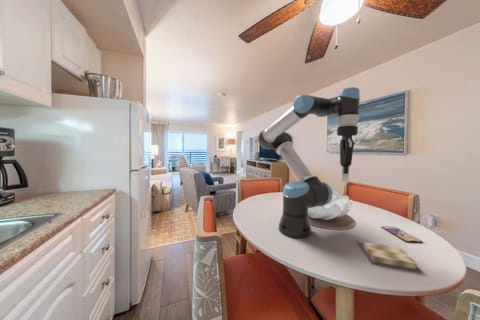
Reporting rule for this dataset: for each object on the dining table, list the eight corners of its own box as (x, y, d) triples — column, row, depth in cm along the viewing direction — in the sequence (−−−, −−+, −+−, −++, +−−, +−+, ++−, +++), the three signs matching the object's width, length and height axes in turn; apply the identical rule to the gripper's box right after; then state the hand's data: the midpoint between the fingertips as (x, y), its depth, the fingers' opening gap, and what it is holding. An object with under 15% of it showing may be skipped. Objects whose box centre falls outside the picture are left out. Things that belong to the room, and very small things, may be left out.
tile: (363, 246, 72) (373, 261, 62) (363, 242, 72) (374, 256, 62) (399, 252, 68) (416, 269, 59) (399, 247, 68) (416, 263, 59)
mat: (371, 263, 62) (371, 262, 62) (357, 243, 76) (357, 241, 76) (421, 272, 58) (421, 270, 58) (397, 249, 72) (397, 247, 72)
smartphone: (395, 226, 91) (424, 241, 76) (395, 228, 91) (423, 243, 76) (380, 226, 92) (406, 241, 77) (380, 228, 92) (406, 243, 77)
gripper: (363, 123, 68) (359, 184, 70) (352, 127, 80) (349, 178, 82) (341, 124, 70) (338, 183, 72) (334, 127, 83) (331, 177, 84)
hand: (344, 180), depth 77 cm, fingers closed
